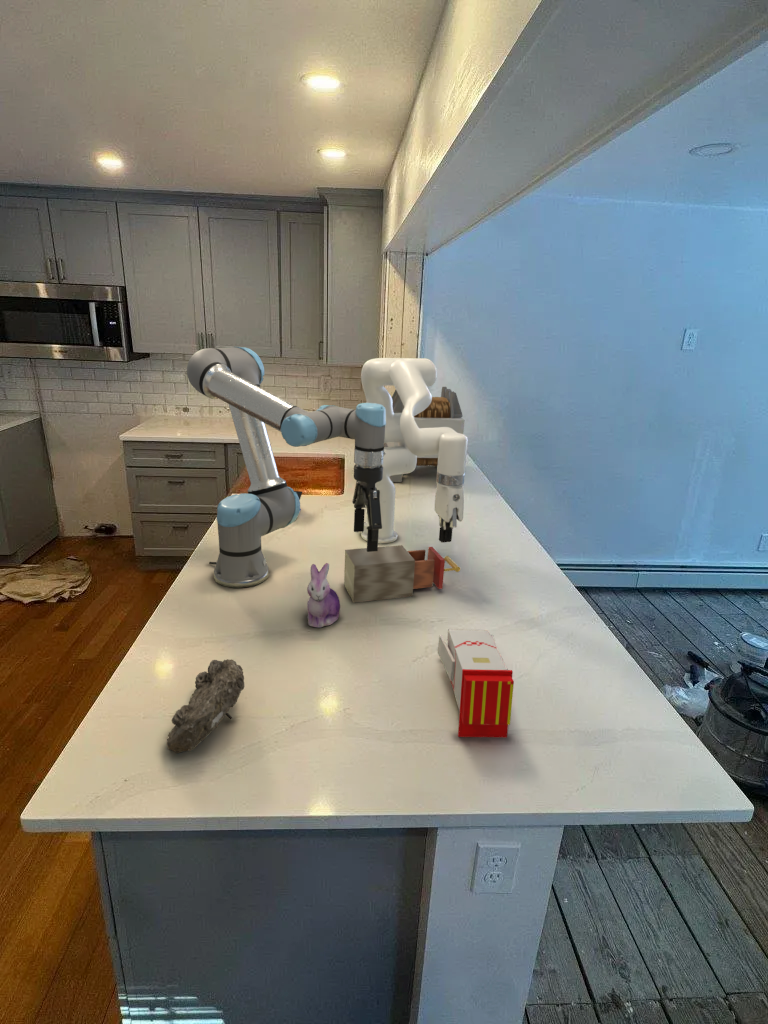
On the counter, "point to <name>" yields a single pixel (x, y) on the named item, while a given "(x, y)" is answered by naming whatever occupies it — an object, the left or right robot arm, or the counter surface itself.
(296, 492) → the figurine character
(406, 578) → the cabinet
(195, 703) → the fossil
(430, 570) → the drawer
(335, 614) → the figurine
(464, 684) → the toy
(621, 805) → the counter surface
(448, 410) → the transformer
